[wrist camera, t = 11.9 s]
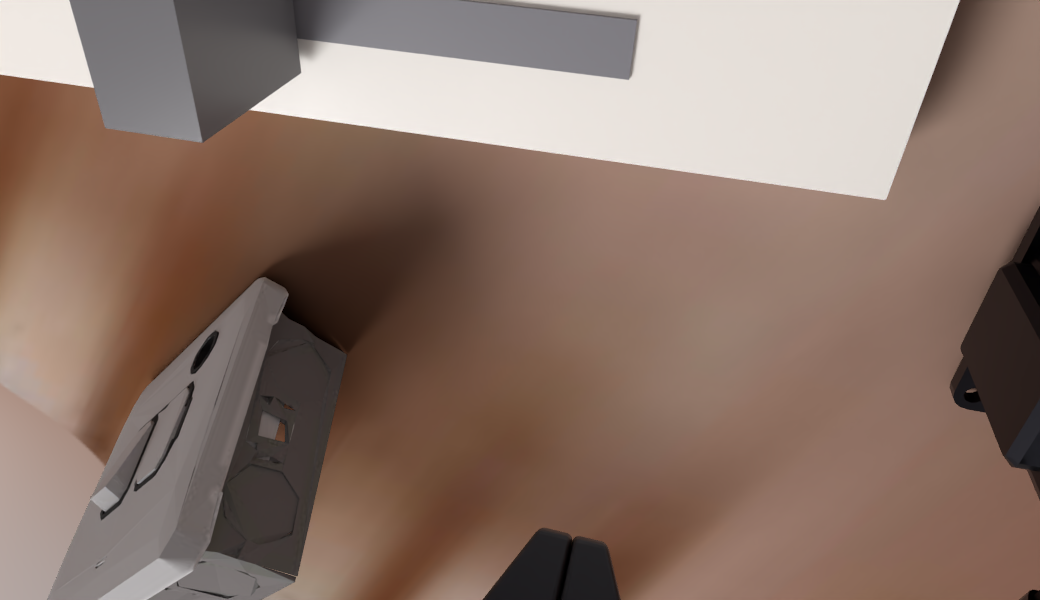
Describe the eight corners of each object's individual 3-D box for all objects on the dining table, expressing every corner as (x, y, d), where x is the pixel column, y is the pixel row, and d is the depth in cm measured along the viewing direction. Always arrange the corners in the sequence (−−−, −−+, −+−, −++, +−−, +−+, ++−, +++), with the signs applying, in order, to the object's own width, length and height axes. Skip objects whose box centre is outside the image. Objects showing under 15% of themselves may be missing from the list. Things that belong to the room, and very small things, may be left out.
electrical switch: (273, 260, 24) (99, 510, 16) (399, 358, 25) (293, 621, 18) (143, 387, 29) (-33, 621, 21) (257, 461, 30) (129, 700, 23)
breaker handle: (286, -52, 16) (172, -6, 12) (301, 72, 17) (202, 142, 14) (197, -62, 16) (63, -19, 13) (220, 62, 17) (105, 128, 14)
